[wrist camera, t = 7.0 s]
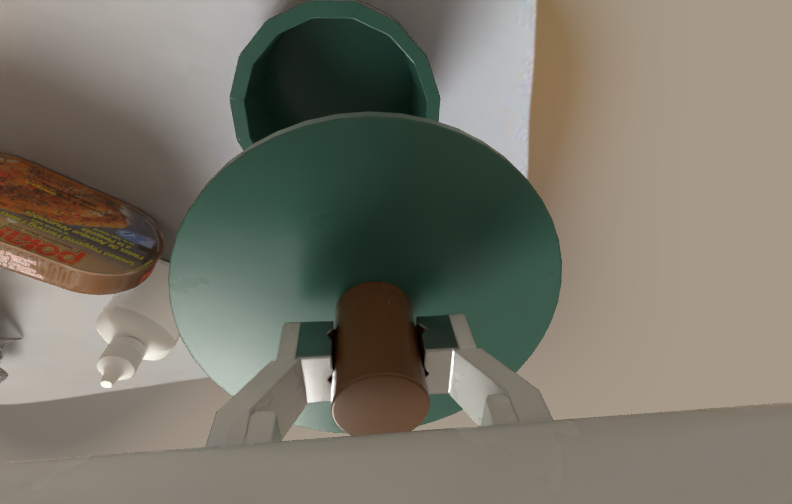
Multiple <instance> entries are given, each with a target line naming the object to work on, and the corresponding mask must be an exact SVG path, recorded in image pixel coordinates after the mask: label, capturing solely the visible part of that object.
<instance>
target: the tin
mask: <svg viewBox="0 0 792 504" xmlns="http://www.w3.org/2000/svg"><path fill="white" fill-rule="evenodd" d="M164 244H165V243H164V237H163V234H162V232H161V230H160V228H159V227H158V225H157V224H156V223H155V222H154V221H153V220H152V219H151V218H150V217H149V216H148V215H146V214H145V213H144V212H142V211H141V210H139V209H137V208H136V207H134V206H132V205H130V204H127V203H125V202H123V201H120V200H118V199H116V198H113V197H111V196H109V195H106V194H104V193H102V192H99V191H97V190H95V189H92V188H90V187H88V186H85V185H83V184H81V183H78V182H76V181H73V180H71V179H69V178H66V177H64V176H62V175H60V174H57V173H55V172H53V171H50V170H48V169H46V168H43V167H41V166H39V165H37V164H34V163H32V162H30V161H27V160H24V159H22V158H19V157H16V156H13V155H8V154H4V153H0V267H2V268H5V269H8V270H11V271H14V272H17V273H20V274H22V275H25V276H28V277H31V278H34V279H37V280H40V281H43V282H46V283H49V284H52V285H55V286H57V287H60V288H63V289H66V290H70V291H73V292H78V293H84V294H94V295H106V294H115V293H120V292H124V291H127V290H130V289H133V288H135V287H137V286H138V285H140V284H141V283H142V282H144V281H145V280H146V279H147V278H148V277H149V276H150V275H151V273H152V272H153V270H154V268H155V265H156V263H157V261H158V259H159V258H160V257H161V255H162V253H163V251H164Z"/></svg>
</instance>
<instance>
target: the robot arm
mask: <svg viewBox="0 0 792 504" xmlns="http://www.w3.org/2000/svg"><path fill="white" fill-rule="evenodd" d="M416 331H417V336H418V341H419V346H420V351H421V356H422V361H423V366H424V371H425V376H426V381H427V386H428V391H429V394H448V393H450V396H451V397H452V398H453V399H454V400H455V401H456V402H457V403H458V404H459V405H460V406H461V407H462V409H463V410H464V411H465V412H466V413H467V414H468V415H469V416H470V417H471V418H472V419H473V420H474V421H475V422H476V424H477V425H478V426H477V427H462V428H449V429H435V430H422V431H408V432H396V433H383V434H370V435H357V436H345V437H331V438H318V439H305V440H292V441H282V439H283V438H284V436H285V435H286V433H287V432H288V431H289V429H290V428H291V426H292V425H293V424H294V422H295V421H296V420H297V418H298V417H299V415H300V414H301V413H302V411H303V410H304V408H305V407H306V406H307V403H315V402H326V401H331V390H332V374H333V347H334V322H333V321H315V322H292V323H284V325H283V328H282V333H281V338H280V343H279V349H278V354H277V359H276V361H271V362H270V363H269V364H267V365H266V366H265V367H264V368H263V369H262V370H261V371H260V372H259V373H258V374H257V375H256V376H255V377H254V378H253V379H251V380H250V381H249V382H248V383H247V384H246V385H245V386H244V387H243V388H242V389H241V390H240V391H239V392H238V393H237V394H235V395H234V396H233V397H232V398H231V399H230V400H229V401H228V402H227V403H226V404H225V405H224V406H223V407H222V408H221V409H220V410H218V411H217V412H216V415H215V418H214V421H213V424H212V427H211V431H210V434H209V437H208V440H207V443H206V446H205V447H201V448H189V449H175V450H163V451H150V452H149V451H148V452H135V453H122V454H110V455H96V456H83V457H69V458H57V459H43V460H30V461H18V462H5V463H0V504H792V403H773V404H762V405H748V406H735V407H723V408H709V409H696V410H683V411H670V412H658V413H644V414H631V415H618V416H605V417H593V418H579V419H567V420H566V419H565V420H553V418H552V416H551V414H550V412H549V410H548V408H547V406H546V403H545V401H544V399H543V397H542V395H541V393H540V391H539V390H538V389H537V388H535V387H534V386H532V385H531V384H530V383H529V382H527V381H526V380H524V379H523V378H522V377H520V376H519V375H518V374H516V373H515V372H513V371H512V370H511V369H509V368H508V367H507V366H505V365H504V364H503V363H501V362H500V361H498V360H497V359H496V358H494V357H493V356H492V355H490V354H489V353H487V352H486V351H485V350H483V349H482V348H477V347H476V344H475V342H474V339H473V336H472V333H471V331H470V328H469V325H468V322H467V320H466V317H465V315H464V314H463V313H458V314H448V315H433V316H417V317H416Z"/></svg>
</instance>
